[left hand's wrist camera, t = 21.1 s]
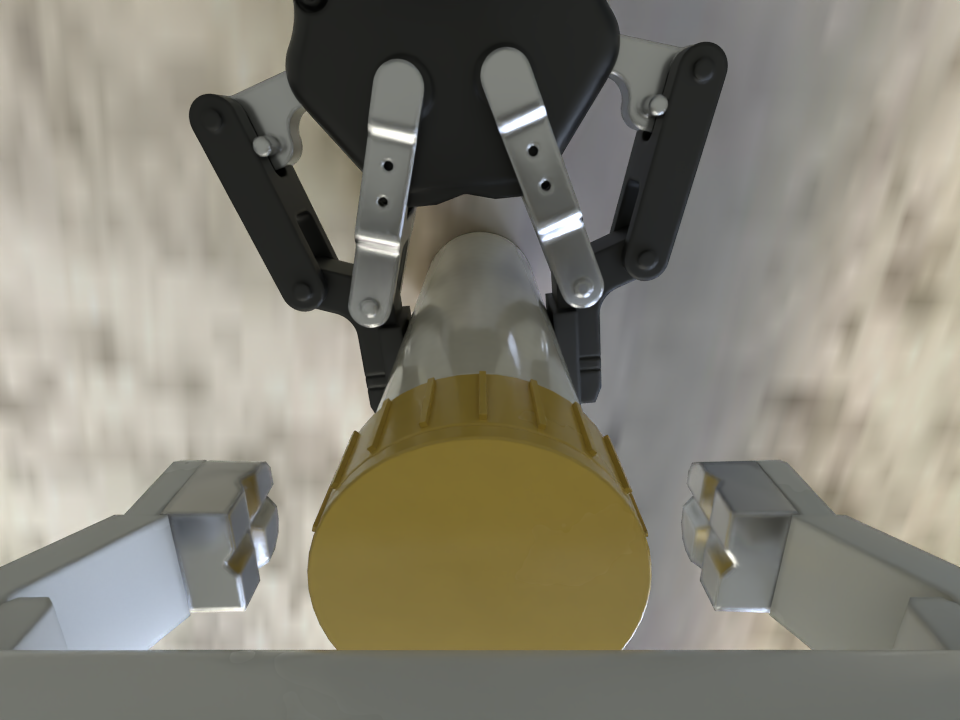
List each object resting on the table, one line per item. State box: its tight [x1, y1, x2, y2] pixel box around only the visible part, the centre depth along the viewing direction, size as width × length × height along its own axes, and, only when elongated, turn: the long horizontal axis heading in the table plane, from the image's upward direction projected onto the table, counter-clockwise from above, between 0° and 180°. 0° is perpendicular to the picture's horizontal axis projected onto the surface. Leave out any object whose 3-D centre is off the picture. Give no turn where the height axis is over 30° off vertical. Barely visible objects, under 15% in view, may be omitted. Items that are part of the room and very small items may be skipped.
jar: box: [376, 232, 583, 412], centre depth 17 cm, size 4×4×17 cm
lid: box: [307, 371, 652, 650], centre depth 9 cm, size 5×5×2 cm
